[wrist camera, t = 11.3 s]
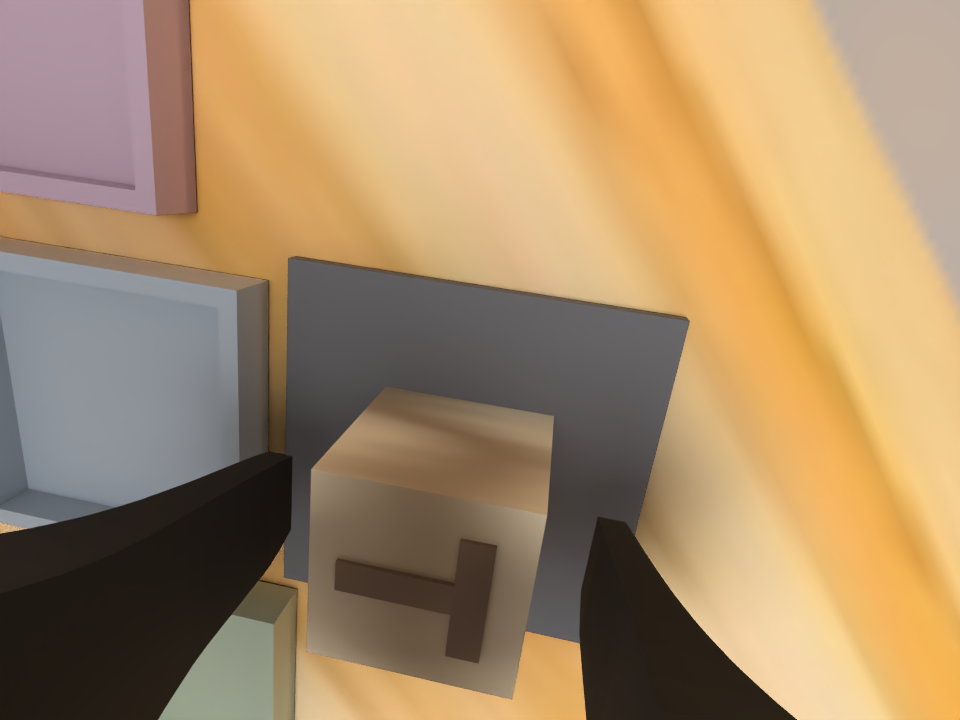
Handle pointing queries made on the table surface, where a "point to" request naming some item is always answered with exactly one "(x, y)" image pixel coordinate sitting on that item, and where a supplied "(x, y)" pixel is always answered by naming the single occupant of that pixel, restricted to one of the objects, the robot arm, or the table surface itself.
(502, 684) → the letter cube
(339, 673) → the table surface
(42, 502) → the tray mid
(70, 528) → the robot arm
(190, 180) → the tray near
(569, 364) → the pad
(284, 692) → the tray far
